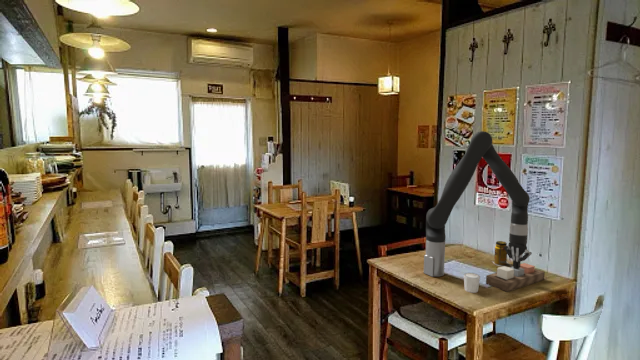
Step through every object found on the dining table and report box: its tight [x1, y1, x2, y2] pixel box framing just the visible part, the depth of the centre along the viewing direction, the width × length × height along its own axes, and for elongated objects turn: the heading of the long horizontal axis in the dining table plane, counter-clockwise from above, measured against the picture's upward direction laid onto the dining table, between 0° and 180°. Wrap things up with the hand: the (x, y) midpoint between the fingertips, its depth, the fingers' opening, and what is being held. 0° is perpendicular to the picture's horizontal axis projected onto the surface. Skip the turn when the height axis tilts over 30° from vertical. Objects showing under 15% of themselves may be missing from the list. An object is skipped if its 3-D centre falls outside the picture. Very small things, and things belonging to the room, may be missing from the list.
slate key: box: [508, 266, 524, 277], centre depth 180 cm, size 5×5×4 cm
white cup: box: [463, 272, 481, 294], centre depth 171 cm, size 7×7×7 cm
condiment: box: [491, 240, 513, 267], centre depth 205 cm, size 7×8×12 cm
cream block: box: [496, 266, 514, 280], centre depth 176 cm, size 5×5×4 cm
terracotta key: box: [520, 262, 535, 274], centre depth 184 cm, size 5×5×4 cm
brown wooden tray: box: [485, 268, 545, 293], centre depth 181 cm, size 28×11×4 cm, turn 120°
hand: (516, 268), depth 180 cm, fingers closed
